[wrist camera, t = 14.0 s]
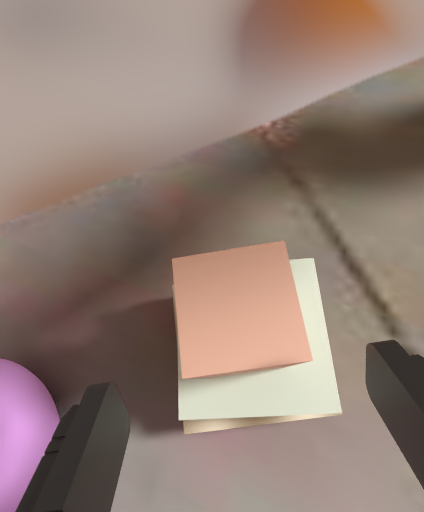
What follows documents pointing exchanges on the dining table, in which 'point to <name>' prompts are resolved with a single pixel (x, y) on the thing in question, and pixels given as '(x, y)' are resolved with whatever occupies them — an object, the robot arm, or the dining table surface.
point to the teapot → (22, 430)
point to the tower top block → (272, 373)
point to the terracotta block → (238, 312)
